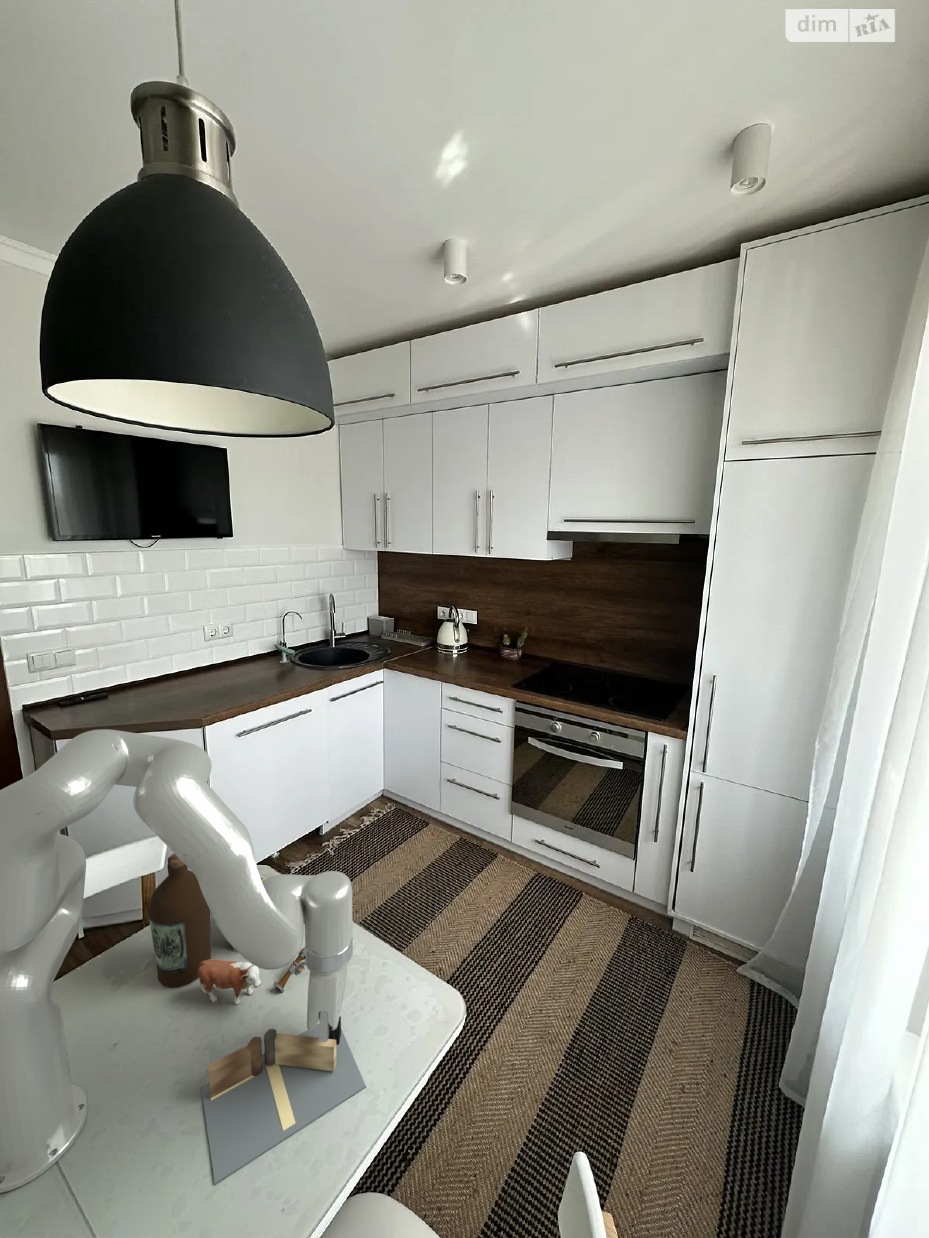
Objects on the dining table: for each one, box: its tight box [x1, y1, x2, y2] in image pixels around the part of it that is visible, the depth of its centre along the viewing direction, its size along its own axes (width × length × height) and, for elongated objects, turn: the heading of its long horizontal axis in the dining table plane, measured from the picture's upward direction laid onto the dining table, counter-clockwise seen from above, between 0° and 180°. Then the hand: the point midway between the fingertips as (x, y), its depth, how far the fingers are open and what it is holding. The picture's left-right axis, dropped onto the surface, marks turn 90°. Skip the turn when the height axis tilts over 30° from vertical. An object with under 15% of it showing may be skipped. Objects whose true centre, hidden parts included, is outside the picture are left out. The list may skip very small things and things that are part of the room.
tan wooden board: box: [263, 1028, 336, 1071], centre depth 82 cm, size 12×2×5 cm, turn 85°
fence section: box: [207, 1036, 263, 1098], centre depth 79 cm, size 8×2×5 cm, turn 124°
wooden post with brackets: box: [273, 946, 306, 993], centre depth 98 cm, size 2×8×4 cm, turn 149°
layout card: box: [200, 1023, 367, 1186], centre depth 79 cm, size 22×14×1 cm, turn 124°
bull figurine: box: [198, 958, 262, 1006], centre depth 93 cm, size 4×13×8 cm, turn 79°
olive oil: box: [147, 852, 212, 989], centre depth 97 cm, size 11×11×25 cm
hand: (330, 1040), depth 84 cm, fingers closed
